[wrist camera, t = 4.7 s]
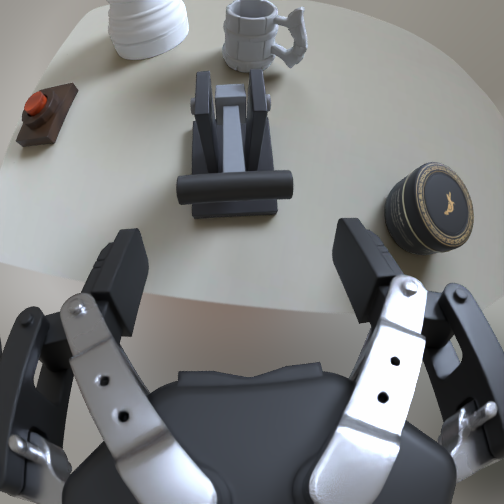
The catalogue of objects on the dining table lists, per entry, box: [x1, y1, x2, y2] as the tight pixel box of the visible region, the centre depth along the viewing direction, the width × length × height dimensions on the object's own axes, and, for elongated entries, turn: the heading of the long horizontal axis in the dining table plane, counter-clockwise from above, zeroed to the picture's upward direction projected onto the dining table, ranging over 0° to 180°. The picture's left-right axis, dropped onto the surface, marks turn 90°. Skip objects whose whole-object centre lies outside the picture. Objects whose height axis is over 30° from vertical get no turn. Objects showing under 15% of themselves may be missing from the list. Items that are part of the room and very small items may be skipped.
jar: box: [385, 162, 474, 255], centre depth 28 cm, size 10×10×8 cm
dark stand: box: [190, 69, 278, 219], centre depth 24 cm, size 12×9×14 cm
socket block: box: [16, 83, 78, 147], centre depth 29 cm, size 10×8×4 cm
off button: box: [24, 92, 47, 116], centre depth 27 cm, size 4×4×2 cm
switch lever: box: [176, 84, 293, 205], centre depth 16 cm, size 12×6×2 cm, turn 5°
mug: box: [222, 0, 308, 72], centre depth 28 cm, size 8×12×12 cm, turn 66°
